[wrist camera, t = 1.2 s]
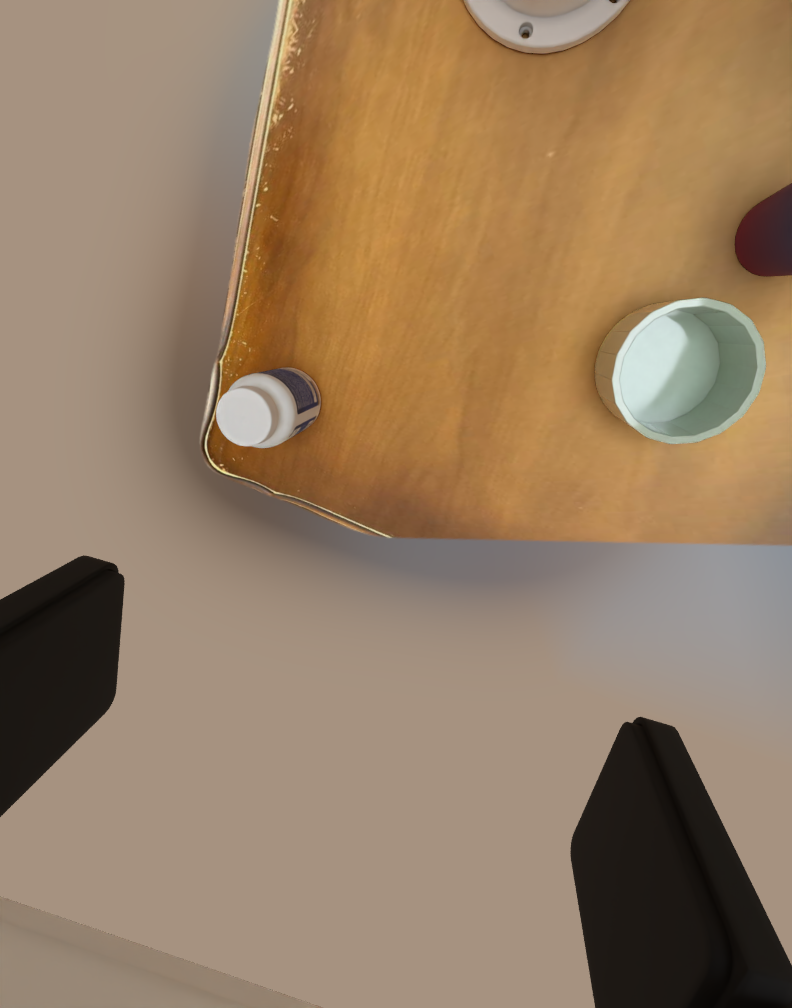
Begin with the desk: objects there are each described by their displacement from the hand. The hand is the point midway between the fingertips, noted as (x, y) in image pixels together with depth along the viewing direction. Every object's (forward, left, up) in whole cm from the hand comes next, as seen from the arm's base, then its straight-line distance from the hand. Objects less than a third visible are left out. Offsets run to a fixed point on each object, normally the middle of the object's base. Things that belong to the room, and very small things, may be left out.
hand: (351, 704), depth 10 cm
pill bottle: (+3, -14, -37) cm, 39 cm away
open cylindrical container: (-7, +13, -37) cm, 40 cm away
